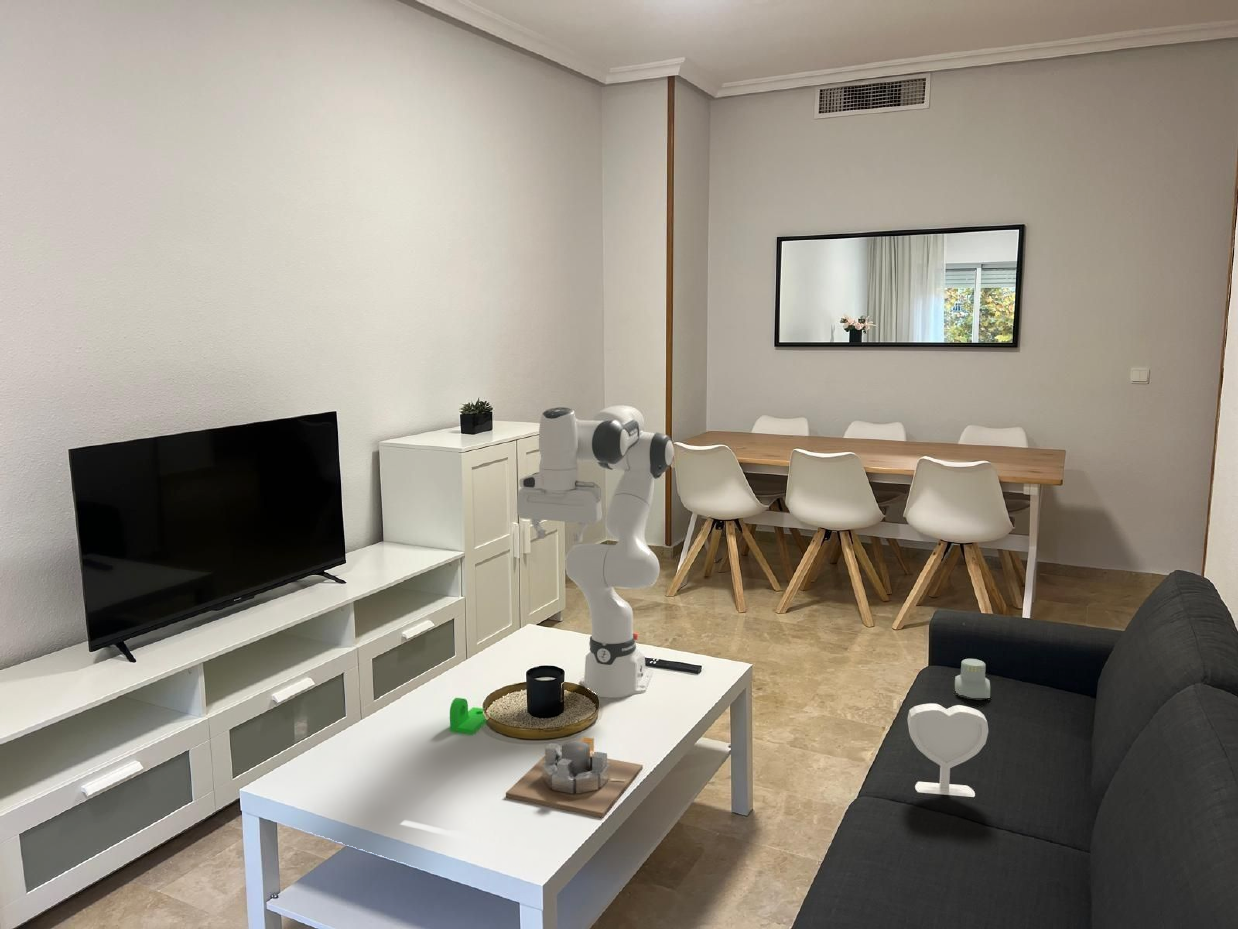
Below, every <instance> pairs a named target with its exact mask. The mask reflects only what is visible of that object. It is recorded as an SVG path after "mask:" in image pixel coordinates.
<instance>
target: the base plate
mask: <svg viewBox="0 0 1238 929" xmlns="http://www.w3.org/2000/svg"><path fill="white" fill-rule="evenodd" d="M560 752H562V758H563V759H568V760H572V764H573V774H579V773H584V772H589V771H591V770H590V746H589V744H587V743H585V742H580V740H575V741H569V742H566V743H564V744H563V745H562V746H561V749H560ZM607 760H608V762H609V763H610V778H609V779H608V780H607V781H606V783H605V784H604V785H603V786H602V787H601V788H598V789H597V790H592V791H588V792H583V793H578V794H576V792H574V793H573V794H571V793H566V792H562V791H557V790H552V788H549V787H548V785H547V784H546V782H545V781H544V779H543V772H542V765H543V763H544V762H545V755H544V756H543V757H542V758H541V759H540V760H539V761H538V762H537V763H536V764H534V765H533V766H532V768H531V769H529V770H528V771H527V772H526V773H524V775H523V776H522V777H520V779H518V781H516V783H515V784H513V786H511V787H510V788H509V789H508V790H507V791H506V792H505V798H508V799H512V800H517V801H521V802H526V803H531V804H536V805H540V806H541V805H542V806H545V807H551V808H554V809H561V810H564V811H570V812H575V813H579V814H584V815H589V816H593V817H598V818H602V819H604V817H605V816H606V815H607V814H608V813H609V812H610V811H611V809H612V808H613V807H614V806H615V804H616V803H617V802H618V800H620V798H621V797H622V796H623V794H624V793H625V792H626V791H627V790H628V788H629V786H630V785H631V784H632V783H634V782H633V781H635V779H636V778H637V777H638V776H639V775H640V773H641V772H642V770H643V768H644V766H643V764H639V763H634V762H630V761H624V760H623V761H622V760H617V759H611V758H608V757H607Z"/></svg>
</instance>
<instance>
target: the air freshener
mask: <svg viewBox="0 0 1238 929" xmlns="http://www.w3.org/2000/svg"><path fill="white" fill-rule="evenodd" d="M960 665H961V667H960V674H958V675H956V676H955V677H954V692H955V691H956V693H958V694H959V695H964V696H967V697H970V698H991V683H990V682H991V681H990V679H988V678H987V677H986V663H985V662H984V661H982V660H979V659H977V658H965V659H963V660H962V661H961V664H960Z"/></svg>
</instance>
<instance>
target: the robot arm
mask: <svg viewBox="0 0 1238 929" xmlns="http://www.w3.org/2000/svg"><path fill="white" fill-rule="evenodd" d="M644 429H645V419H644V416H643V415H642V413H641V411H640V410H639V409H637V408H635V407H633V406H630V405H626V404H625V405H624V404H623V405H622V404H620V405H619V404H617V405H611V406H608V407H605V408H603V409H601V410H600V411H598V412H597V413H596V414H595V415H594V416H593V418H592V420H585V419H579V418H576V412H575V410H574V409H572V408H569V407H563V406H562V407H554V408H553V407H552V408H549V409H546V410H545V411H543V412H542V413H541V417H540V420H539V429H538V450H539V453H540V462H539V463H538V464H539V465H538V466H539V467H538V472H534V473H532V474H530V475H529V474H528V475H527V476H524V477H521V478H519V487H520V489H519V490H518V493H517V499H516V514H517V515H518V516H519V518H520V519H531V524H532V527H533V528H534V530H535V531H536V538H537V539H545V538H546V536H547V535H546V532H547V531H546V529H543V527H542V526H541V524H540V523H542V521H551V522H553V521H554V522H555V521H557V522H567V523H577V527H578V528H579V529H578V532H575V533H574V534H573V541H574V542H576V543H577V542H578V543H579V544H575V545H573V546H572V547H571V548H570V549H569V550H568V552H567V553H566V556H565V560H564V568H565V573H566V574H567V576H568V578H569V579H570V580H571V581H573V583H575V585H576V586H577V587H578V588H579V589H580V590H581V592H582V594H583V595H584V597H585V599H586V602H587V605H588V608H589V614H590V627H591V628H590V629H591V630H590V631H591V633H590V634H591V636H590V637H589V652H588V653H587V654H586V655H585V661H584V674H583V675H584V677H583V678H581V679H580V680H579V683H580V684H581V686H582V685H583V687H585V689H586V688H589V689H590V690H591V691H593V692H595V693H596V695H598V696H597V697H601V698H610V699H611V698H612V699H615V698H616V699H617V698H625V697H628V696H632V695H637V694H644V693H647V689H648V687H649V684H650V682H651V680H652V677H653V674H654V670H652V669H650V668H648V667H646V658H645V655H644V653H643V652H641V651H640V650H638V649H637V645H636V641H637V640H638V638H639V633H638V632H634V612H633V609H632V607H631V605H630V603H628V602H627V601H626V600H624V599H623V598H622V597H621V596H619V594H618V593H617V592H616V590H615V588H617V589H625V590H642V589H649V588H651V587H653V585H655V583H657V581H658V578H659V576H660V571H661V570H660V568H661V567H660V561H659V559H658V557H657V556H656V554H655V552H653V551H652V550H651V548H650V547H649V546H648V544H647V542H646V528H647V523H648V519H649V516H650V514H651V508H652V504H653V501H654V500H653V499H654V492H655V480H654V479H656V480H657V479H660V478H661V477H662V475H663V473H665V472H666V471H668V469H670V468H671V467H670V466H671V465H672V463H673V460H674V455H675V450H674V449H675V448H674V443H673V440H672V439H671V437H670V436H669V435H667V434H665V433H661V432H655V433H654V432H649V431H644ZM578 462H590V463H592V462H593V463H597V464H598V465H599V466H600V467H602V468H604V469H607V470H610V471H611V470H617V471H621V472H622V471H623V474H622V476H620V479H619V481H618V483H617V485H616V487H615V489H614V491H613V493H612V497H611V500H610V502H609V506H608V508H607V512H606V515H605V517H604V518H605V519H604V526H605V530H606V532H607V533H608V534H609V535H610V536H611V537H612V538H614V539H615V540H616V541H617V542H616V544H602V543H593V542H592V543H591V542H590V543H583V544H582V543H581V542H583V539H584V533H585V531H586V530H587V527H588V524H591V525H595V524H597V523H599V522H600V521H601V520H602V519H603V509H602V500H601V499H602V488H601V487H600V486H599V485H598V484H596V482H594V481H589V482H588V481H581V480H579V464H578ZM580 543H581V544H580Z"/></svg>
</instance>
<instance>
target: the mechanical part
mask: <svg viewBox="0 0 1238 929" xmlns="http://www.w3.org/2000/svg"><path fill="white" fill-rule="evenodd" d="M483 709H484V708H482V707H472V708H470V709H469V703H468V700H467V699H466V698H462V697H455V698H454V699H453V700H452V702H451V704H450V707H449V729H450V732H452V733H456V734H457V733H458V734H465V735H471V736H474V734H475V733H476V732H477V731H479V729H480V728H482V727H483V726H484V725H485V724H486V723H487V722H486V719H485V716H484V714H483Z"/></svg>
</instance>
